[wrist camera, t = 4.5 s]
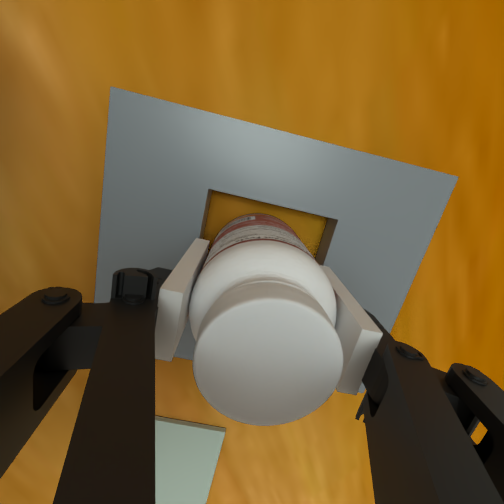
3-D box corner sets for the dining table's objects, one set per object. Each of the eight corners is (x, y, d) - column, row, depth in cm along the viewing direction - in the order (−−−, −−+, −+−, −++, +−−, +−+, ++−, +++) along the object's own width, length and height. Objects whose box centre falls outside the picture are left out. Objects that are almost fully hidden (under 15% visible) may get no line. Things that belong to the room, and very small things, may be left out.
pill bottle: (278, 308, 20) (313, 465, 10) (199, 279, 19) (141, 415, 9) (316, 232, 18) (409, 320, 8) (231, 196, 18) (207, 241, 7)
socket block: (105, 324, 21) (91, 340, 19) (126, 96, 16) (110, 86, 14) (353, 373, 22) (363, 393, 20) (436, 176, 18) (458, 176, 16)
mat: (79, 499, 26) (76, 504, 26) (86, 403, 23) (83, 407, 23) (201, 518, 27) (200, 523, 27) (225, 428, 24) (225, 432, 24)
